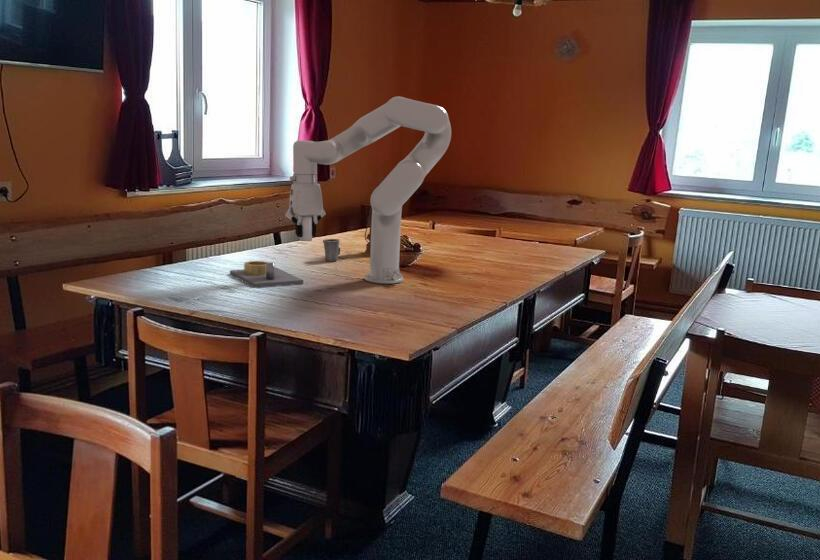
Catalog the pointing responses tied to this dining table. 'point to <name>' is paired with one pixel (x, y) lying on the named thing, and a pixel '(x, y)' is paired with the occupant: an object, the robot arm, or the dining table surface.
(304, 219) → the white rounded peg
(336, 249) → the grey mug
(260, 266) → the brass socket
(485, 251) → the dining table surface
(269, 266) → the small stub
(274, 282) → the fitting board
